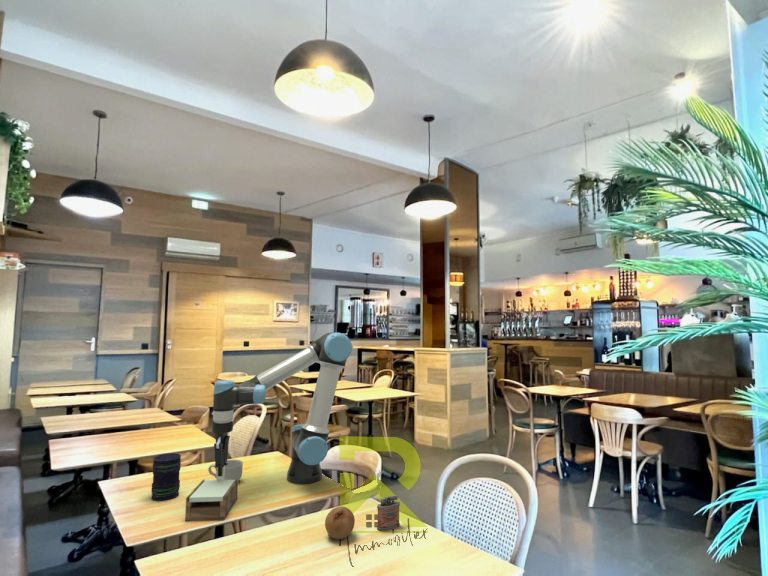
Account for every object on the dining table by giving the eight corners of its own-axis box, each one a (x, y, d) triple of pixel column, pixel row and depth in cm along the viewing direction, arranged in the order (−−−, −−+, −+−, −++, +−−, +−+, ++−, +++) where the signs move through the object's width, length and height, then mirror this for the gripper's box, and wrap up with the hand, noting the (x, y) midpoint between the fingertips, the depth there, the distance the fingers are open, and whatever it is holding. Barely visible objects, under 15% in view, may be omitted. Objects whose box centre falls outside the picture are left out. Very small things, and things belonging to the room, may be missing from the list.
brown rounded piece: (341, 552, 134) (340, 529, 130) (319, 536, 139) (318, 513, 135) (360, 530, 141) (360, 507, 137) (339, 515, 146) (338, 493, 142)
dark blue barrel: (181, 490, 175) (183, 452, 177) (176, 500, 166) (178, 459, 167) (154, 492, 173) (156, 454, 174) (147, 502, 164) (149, 461, 165)
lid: (205, 484, 166) (205, 480, 166) (235, 483, 167) (235, 479, 167) (189, 502, 149) (189, 497, 149) (222, 501, 150) (222, 496, 150)
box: (202, 500, 166) (203, 479, 167) (237, 499, 167) (237, 478, 168) (185, 521, 148) (186, 497, 149) (224, 519, 149) (225, 496, 150)
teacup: (246, 478, 190) (247, 459, 190) (235, 487, 179) (236, 467, 180) (215, 477, 191) (216, 458, 192) (203, 486, 180) (204, 466, 181)
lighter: (379, 532, 141) (379, 500, 142) (375, 527, 144) (375, 496, 145) (401, 527, 144) (401, 496, 145) (396, 523, 147) (397, 492, 148)
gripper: (217, 417, 176) (215, 478, 173) (207, 424, 163) (204, 490, 161) (237, 417, 176) (234, 477, 174) (228, 424, 163) (225, 490, 161)
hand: (220, 483), depth 167 cm, fingers closed
